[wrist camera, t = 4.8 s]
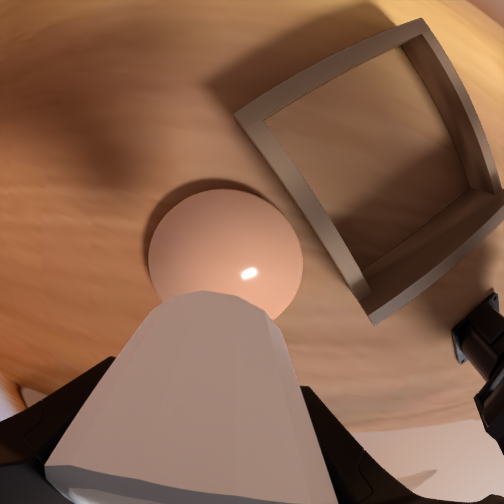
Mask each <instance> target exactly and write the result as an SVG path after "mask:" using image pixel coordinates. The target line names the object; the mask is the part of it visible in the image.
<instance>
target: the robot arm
mask: <svg viewBox="0 0 504 504" xmlns="http://www.w3.org/2000/svg"><path fill="white" fill-rule="evenodd" d="M452 335H453V340H454V345H455V350H456V355H457V360H458V363H459V364H460V365H461V364H463V363H464V362H466V361H467V360H469V361H470V362H471V364H472V365H473V366H474V367H475V369H476V370H477V371H478V372H479V374H480V375H481V376H482V377H483V379H484V380H485V381H486V384H485V385H484V386H483V388H482V389H481V390H480V391H479V393H477V394H476V395H475V397H474V401H475V403H476V406H477V409H478V411H479V414H480V417H481V419H482V422H483V425H484V428H485V430H486V432H487V433H488V434H489V435H490V436H491V437H492V438H494V439H495V440H496V441H497V443H498V445H499V447H500V449H501V451H502V453H503V455H504V316H502V315H501V314H500V313H499V301H498V294H496V293H495V292H494V293H492V294H491V295H490V296H489V297H488V298H487V299H486V300H485V301H484V302H483V303H482V304H481V305H480V306H478V307H477V308H476V309H475V310H474V311H473V312H472V313H471V314H470V315H468V316H467V317H466V318H465V319H464V320H463V321H461V322H460V323H459V324H458V325H457V326H455V327H454V328H453V330H452ZM116 358H117V357H113V356H110V357H108V358H106V359H105V360H103V361H102V362H100V363H99V364H97V365H96V366H94V367H92V368H91V369H89V370H88V371H86V372H85V373H83V374H81V375H80V376H78V377H77V378H75V379H74V380H72V381H70V382H69V383H67V384H66V385H64V386H63V387H61V388H59V389H58V390H56V391H55V392H53V393H52V394H50V395H48V396H47V397H45V398H44V399H42V401H39V402H37V403H36V404H34V405H32V406H31V407H29V408H27V409H25V410H24V411H22V412H20V413H18V414H16V415H14V416H12V417H9V418H7V419H5V420H3V421H1V422H0V504H75V503H73V502H72V501H70V500H69V499H67V498H66V497H64V496H63V495H62V494H61V493H60V492H59V491H58V490H57V489H56V488H55V487H54V486H53V485H52V484H51V483H50V482H49V481H48V480H47V479H46V475H45V468H44V465H45V464H46V462H47V460H48V459H49V457H50V456H51V454H52V452H53V451H54V449H55V448H56V446H57V444H58V443H59V441H60V440H61V438H62V437H63V435H64V433H65V432H66V430H67V429H68V427H69V426H70V424H71V423H72V421H73V420H74V418H75V417H76V415H77V414H78V412H79V411H80V409H81V408H82V406H83V405H84V403H85V402H86V400H87V399H88V397H89V396H90V394H91V393H92V392H93V390H94V389H95V387H96V386H97V384H98V383H99V381H100V380H101V379H102V377H103V376H104V374H105V373H106V372H107V370H108V369H109V367H110V366H111V364H112V363H113V362H114V360H115V359H116ZM300 389H301V392H302V395H303V398H304V401H305V404H306V407H307V410H308V413H309V416H310V419H311V422H312V425H313V428H314V431H315V434H316V437H317V440H318V443H319V446H320V449H321V452H322V455H323V459H324V462H325V465H326V468H327V471H328V474H329V477H330V480H331V483H332V486H333V489H334V492H335V495H336V498H337V501H338V504H504V497H502V496H499V495H493V494H491V495H489V496H487V497H486V498H484V499H483V500H481V501H478V502H471V503H465V502H454V501H444V500H437V499H430V498H424V497H421V496H419V495H417V494H415V493H413V492H412V491H410V490H409V489H408V488H406V487H405V486H404V485H403V484H401V483H400V482H399V481H398V480H396V479H395V478H394V477H393V476H391V475H390V474H389V473H388V472H387V471H386V470H384V469H383V468H382V467H381V466H380V465H379V464H378V463H377V462H376V461H375V460H374V459H373V458H372V457H371V456H370V455H369V454H368V453H367V452H366V450H364V448H363V447H362V446H361V445H360V444H359V443H358V442H357V441H356V440H355V438H354V437H353V436H352V435H351V434H350V433H349V432H348V431H347V430H346V428H345V427H344V426H343V425H342V424H341V423H340V422H339V420H338V419H337V418H336V417H335V416H334V415H333V414H332V412H331V411H330V410H329V409H328V408H327V407H326V406H325V404H324V403H323V402H322V401H321V400H320V399H319V397H318V396H317V395H316V394H315V393H314V392H313V390H312V389H311V388H310V387H309V386H300Z"/></svg>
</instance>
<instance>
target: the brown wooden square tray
mask: <svg viewBox="0 0 504 504" xmlns="http://www.w3.org/2000/svg"><path fill="white" fill-rule="evenodd" d="M398 46H401V47H402V49H403V50H404V52H405V53H406V55H407V56H408V58H409V59H410V61H411V62H412V64H413V65H414V67H415V69H416V70H417V72H418V73H419V75H420V77H421V78H422V80H423V82H424V84H425V85H426V87H427V89H428V91H429V92H430V94H431V96H432V98H433V100H434V102H435V104H436V106H437V108H438V110H439V112H440V114H441V116H442V118H443V120H444V122H445V124H446V126H447V128H448V130H449V133H450V135H451V137H452V140H453V142H454V144H455V147H456V149H457V152H458V154H459V157H460V159H461V162H462V165H463V167H464V170H465V173H466V176H467V179H468V182H469V185H470V189H468V190H467V191H466V192H465V193H464V194H462V195H461V196H460V197H459V198H458V199H457V200H455V201H454V202H453V203H452V204H450V205H449V206H448V207H447V208H446V209H444V210H443V211H442V212H441V213H439V214H438V215H437V216H436V217H434V218H433V219H432V220H431V221H429V222H428V223H427V224H425V225H424V226H423V227H421V228H420V229H419V230H418V231H416V232H415V233H414V234H412V235H411V236H410V237H408V238H407V239H406V240H404V241H403V242H402V243H400V244H399V245H398V246H396V247H395V248H393V249H392V250H391V251H389V252H388V253H386V254H385V255H384V256H382V257H381V258H379V259H378V260H377V261H375V262H374V263H372V264H371V265H369V266H368V267H367V268H365V269H364V270H362V271H360V269H359V267H358V265H357V264H356V262H355V260H354V258H353V257H352V255H351V253H350V251H349V250H348V248H347V246H346V245H345V243H344V241H343V239H342V238H341V236H340V234H339V233H338V231H337V229H336V228H335V226H334V224H333V223H332V221H331V219H330V218H329V216H328V215H327V213H326V211H325V210H324V208H323V207H322V205H321V203H320V202H319V200H318V199H317V197H316V196H315V194H314V193H313V191H312V189H311V188H310V186H309V185H308V183H307V182H306V180H305V179H304V177H303V176H302V174H301V173H300V171H299V170H298V168H297V167H296V166H295V164H294V163H293V161H292V160H291V158H290V157H289V155H288V154H287V152H286V151H285V150H284V148H283V147H282V145H281V144H280V143H279V141H278V140H277V138H276V137H275V136H274V134H273V133H272V132H271V130H270V129H269V127H268V126H267V125H266V123H265V122H264V120H266V119H267V118H269V117H270V116H272V115H273V114H275V113H277V112H278V111H280V110H281V109H283V108H284V107H286V106H288V105H289V104H291V103H292V102H294V101H296V100H297V99H299V98H301V97H302V96H304V95H306V94H307V93H309V92H311V91H313V90H314V89H316V88H318V87H319V86H321V85H323V84H325V83H327V82H328V81H330V80H332V79H334V78H336V77H337V76H339V75H341V74H343V73H345V72H347V71H349V70H351V69H352V68H354V67H356V66H358V65H360V64H362V63H364V62H366V61H368V60H370V59H372V58H374V57H376V56H379V55H381V54H383V53H385V52H387V51H389V50H391V49H394V48H396V47H398ZM233 115H234V117H235V120H236V121H237V123H238V124H239V125H240V127H241V128H242V129H243V131H244V132H245V133H246V135H247V136H248V137H249V139H250V140H251V141H252V143H253V144H254V145H255V147H256V148H257V149H258V151H259V152H260V153H261V155H262V156H263V158H264V159H265V160H266V162H267V163H268V165H269V166H270V167H271V169H272V170H273V172H274V173H275V174H276V176H277V177H278V179H279V180H280V182H281V183H282V184H283V186H284V187H285V189H286V190H287V192H288V193H289V195H290V196H291V197H292V199H293V200H294V202H295V203H296V205H297V206H298V208H299V209H300V211H301V212H302V214H303V215H304V217H305V218H306V220H307V221H308V223H309V224H310V226H311V227H312V229H313V231H314V232H315V234H316V235H317V237H318V238H319V240H320V241H321V243H322V245H323V246H324V248H325V249H326V251H327V252H328V254H329V256H330V257H331V259H332V260H333V262H334V264H335V265H336V267H337V269H338V270H339V272H340V273H341V275H342V277H343V278H344V280H345V282H346V283H347V285H348V287H349V288H350V290H351V292H352V293H353V295H354V296H355V298H356V299H357V301H358V302H359V304H360V305H361V307H362V308H363V310H364V311H365V313H366V315H367V316H368V318H369V319H370V321H371V322H372V324H373V325H374V326H375V325H377V324H378V323H380V322H381V321H383V320H384V319H386V318H387V317H389V316H390V315H392V314H393V313H394V312H396V311H397V310H399V309H400V308H402V307H403V306H404V305H406V304H407V303H408V302H410V301H411V300H413V299H414V298H415V297H417V296H418V295H419V294H421V293H422V292H423V291H424V290H426V289H427V288H428V287H430V286H431V285H432V284H433V283H435V282H436V281H437V280H438V279H440V278H441V277H442V276H443V275H445V274H446V273H447V272H448V271H449V270H451V269H452V268H453V267H454V266H455V265H456V264H458V263H459V262H460V261H461V260H462V259H463V258H465V257H466V256H467V255H468V254H469V253H470V252H471V251H472V250H473V249H475V248H476V247H477V246H478V245H479V244H480V243H481V242H482V241H483V240H484V239H485V238H486V237H487V236H488V235H489V234H490V233H491V232H492V231H493V230H494V229H496V228H497V227H498V225H499V224H500V223H501V222H502V221H503V220H504V189H502V187H501V183H500V179H499V176H498V172H497V169H496V165H495V162H494V159H493V156H492V153H491V150H490V147H489V144H488V141H487V138H486V136H485V133H484V130H483V128H482V125H481V123H480V120H479V118H478V115H477V113H476V111H475V108H474V106H473V104H472V102H471V100H470V98H469V95H468V93H467V91H466V89H465V87H464V85H463V83H462V81H461V79H460V78H459V76H458V74H457V72H456V70H455V68H454V67H453V65H452V63H451V61H450V60H449V58H448V56H447V55H446V53H445V51H444V50H443V48H442V46H441V45H440V43H439V42H438V40H437V39H436V37H435V36H434V34H433V33H432V31H431V30H430V28H429V27H428V25H427V24H426V23H425V21H424V20H423V19H422V18H419V19H416V20H413V21H410V22H407V23H405V24H402V25H399V26H396V27H394V28H391V29H389V30H386V31H384V32H381V33H379V34H376V35H374V36H372V37H369V38H367V39H365V40H363V41H360V42H358V43H356V44H354V45H352V46H349V47H347V48H345V49H343V50H341V51H339V52H337V53H335V54H333V55H331V56H329V57H327V58H325V59H323V60H321V61H319V62H318V63H316V64H314V65H312V66H310V67H308V68H306V69H305V70H303V71H301V72H299V73H297V74H296V75H294V76H292V77H291V78H289V79H287V80H285V81H284V82H282V83H280V84H279V85H277V86H275V87H274V88H272V89H270V90H269V91H267V92H266V93H264V94H262V95H261V96H259V97H258V98H256V99H255V100H253V101H252V102H250V103H249V104H247V105H246V106H244V107H243V108H241V109H240V110H238V111H237V112H235V113H234V114H233Z"/></svg>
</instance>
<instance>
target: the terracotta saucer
mask: <svg viewBox="0 0 504 504" xmlns="http://www.w3.org/2000/svg"><path fill="white" fill-rule="evenodd" d="M148 263H149V272H150V277H151V280H152V283H153V286H154V288H155V290H156V292H157V294H158V295H159V297H160V299H161V300H162V302H165V301H166V300H168V299H169V298H171V297H172V296H175V295H181V294H186V293H191V292H197V291H202V290H205V291H211V292H217V293H223V294H230V295H236V296H238V297H240V298H242V299H244V300H245V301H247V302H249V303H251V304H253V305H255V306H257V307H259V308H260V309H262V310H264V311H265V312H266V313H267V315H268V316H269V317H270V318H271V319H272V320H273V319H275V318H276V317H277V316H279V315H280V314H281V313H282V312H283V311H284V310H285V309H286V308H287V306H288V305H289V304H290V302H291V301H292V300H293V298H294V296H295V294H296V292H297V290H298V288H299V285H300V282H301V277H302V271H303V259H302V251H301V247H300V243H299V241H298V238H297V236H296V233H295V232H294V230H293V228H292V226H291V225H290V223H289V221H288V220H287V219H286V218H285V216H284V215H283V214H282V213H281V212H280V211H279V210H278V209H277V208H276V207H275V206H274V205H272V204H271V203H269V202H268V201H267V200H265V199H263V198H261V197H259V196H257V195H255V194H252V193H249V192H246V191H242V190H237V189H228V188H222V189H211V190H206V191H202V192H199V193H196V194H194V195H192V196H190V197H188V198H186V199H184V200H183V201H181V202H180V203H178V204H177V205H176V206H174V207H173V208H172V209H171V210H170V211H169V212H168V213H167V214H166V215H165V216H164V218H163V219H162V220H161V221H160V223H159V224H158V226H157V228H156V230H155V232H154V234H153V237H152V239H151V243H150V247H149V255H148Z"/></svg>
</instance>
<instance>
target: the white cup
mask: <svg viewBox="0 0 504 504" xmlns="http://www.w3.org/2000/svg"><path fill="white" fill-rule="evenodd" d="M44 468H45V475H46V479H47V480H48V481H49V482H50V483H51V484H52V485H53V486H54V487H55V488H56V489H57V490H58V491H59V492H60V493H61V494H62V495H63V496H64V497H66V498H67V499H69V500H70V501H72V502H73V503H75V504H338V501H337V498H336V495H335V492H334V489H333V486H332V483H331V480H330V477H329V474H328V471H327V468H326V465H325V462H324V459H323V455H322V452H321V449H320V446H319V443H318V440H317V437H316V434H315V431H314V428H313V425H312V422H311V419H310V416H309V413H308V410H307V407H306V404H305V401H304V398H303V395H302V392H301V389H300V386H299V383H298V380H297V377H296V374H295V371H294V368H293V365H292V362H291V359H290V356H289V353H288V350H287V347H286V344H285V341H284V338H283V335H282V332H281V330H280V329H279V328H278V327H277V326H276V324H275V323H274V322H273V321H272V319H271V318H270V317H269V316H268V315H267V313H266V312H265V311H264V310H262V309H260V308H259V307H257V306H255V305H253V304H251V303H249V302H247V301H245V300H244V299H242V298H240V297H238V296H236V295H230V294H223V293H217V292H211V291H205V290H202V291H197V292H191V293H186V294H181V295H175V296H172V297H171V298H169V299H168V300H166V301H165V302H163V303H162V304H160V305H159V306H157V307H156V308H154V309H153V310H152V311H151V312H150V313H149V314H148V316H147V317H146V318H145V320H144V321H143V322H142V324H141V325H140V326H139V328H138V329H137V330H136V332H135V333H134V334H133V336H132V337H131V338H130V340H129V341H128V342H127V344H126V345H125V346H124V348H123V349H122V351H121V352H120V353H119V355H118V356H117V358H116V359H115V360H114V362H113V363H112V364H111V366H110V367H109V369H108V370H107V372H106V373H105V374H104V376H103V377H102V379H101V380H100V381H99V383H98V384H97V386H96V387H95V389H94V390H93V392H92V393H91V394H90V396H89V397H88V399H87V400H86V402H85V403H84V405H83V406H82V408H81V409H80V411H79V412H78V414H77V415H76V417H75V418H74V420H73V421H72V423H71V424H70V426H69V427H68V429H67V430H66V432H65V433H64V435H63V437H62V438H61V440H60V441H59V443H58V444H57V446H56V448H55V449H54V451H53V452H52V454H51V456H50V457H49V459H48V460H47V462H46V464H45V465H44Z"/></svg>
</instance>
